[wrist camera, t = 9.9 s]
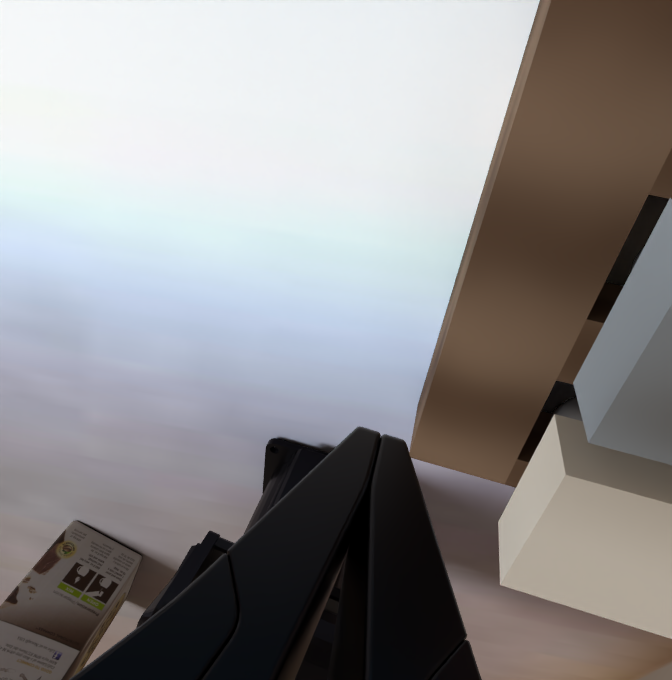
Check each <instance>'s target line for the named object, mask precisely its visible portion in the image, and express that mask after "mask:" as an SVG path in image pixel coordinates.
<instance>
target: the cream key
mask: <svg viewBox="0 0 672 680" xmlns="http://www.w3.org/2000/svg"><path fill="white" fill-rule="evenodd" d="M498 529H499V564H500V585H502V586H505V587H508V588H511V589H514V590H518V591H521V592H524V593H527V594H530V595H533V596H537V597H540V598H543V599H546V600H549V601H552V602H556V603H559V604H562V605H565V606H568V607H572V608H575V609H578V610H581V611H584V612H587V613H591V614H594V615H597V616H600V617H603V618H606V619H610V620H613V621H616V622H619V623H622V624H626V625H629V626H632V627H635V628H638V629H641V630H645V631H648V632H651V633H654V634H657V635H660V636H664V637H667V638H670V639H672V465H669V464H666V463H662V462H658V461H654V460H651V459H647V458H643V457H639V456H636V455H632V454H628V453H625V452H621V451H617V450H613V449H610V448H606V447H602V446H598V445H595V444H591V443H588V440H587V436H586V432H585V428H584V424H583V420H582V416H581V412H580V408H579V404H578V400H577V397H576V398H573V399H570V400H568V401H566V402H564V403H562V404H561V405H560V406H559V407H557V408H556V410H555V411H554V412H553V414H552V416H551V420H550V423H549V425H548V427H547V429H546V431H545V433H544V435H543V437H542V439H541V441H540V443H539V445H538V447H537V448H536V450H535V452H534V454H533V456H532V458H531V460H530V462H529V464H528V466H527V468H526V470H525V471H524V473H523V475H522V477H521V479H520V481H519V483H518V485H517V487H516V489H515V491H514V493H513V495H512V496H511V498H510V500H509V502H508V504H507V506H506V508H505V510H504V512H503V514H502V516H501V518H500V520H499V521H498Z"/></svg>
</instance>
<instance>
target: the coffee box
mask: <svg viewBox="0 0 672 680" xmlns="http://www.w3.org/2000/svg"><path fill="white" fill-rule="evenodd" d="M141 559H142V556H141V555H139V554H137V553H135V552H134V551H132V550H130V549H128V548H126V547H124V546H122V545H120V544H119V543H117V542H115V541H113V540H111V539H109V538H107V537H105V536H104V535H102V534H100V533H98V532H96V531H94V530H93V529H91V528H89V527H87V526H85V525H84V524H82V523H80V522H78V521H73V522H72V523H71V524H70V525H69V526H68V527H67V528H66V530H65V531H64V532H63V533H62V534H61V535H60V536H59V538H58V539H57V540H56V541H55V542H54V543H53V545H52V546H51V547H50V548H49V549H48V551H47V552H46V553H45V554H44V555H43V556H42V558H41V559H40V560H39V561H38V562H37V564H36V565H35V566H34V567H33V568H32V569H31V571H30V572H29V573H28V574H27V575H26V576H25V578H24V579H23V580H22V581H21V582H20V583H19V584H18V586H17V587H16V588H15V589H14V590H13V592H12V593H11V594H10V595H9V596H8V598H7V599H6V600H5V601H4V602H3V604H2V605H1V606H0V680H69V679H70V678H72V677H73V676H74V675H75V674H77V673H78V672H79V671H81V670H82V669H83V667H84V666H85V664H86V662H87V661H88V659H89V658H90V656H91V654H92V653H93V651H94V650H95V648H96V646H97V645H98V643H99V641H100V640H101V638H102V637H103V635H104V633H105V632H106V630H107V629H108V627H109V625H110V624H111V622H112V621H113V619H114V618H115V616H116V614H117V613H118V611H119V610H120V608H121V606H122V605H123V603H124V602H125V600H126V598H127V595H128V593H129V590H130V588H131V585H132V582H133V580H134V577H135V575H136V572H137V569H138V567H139V564H140V562H141Z"/></svg>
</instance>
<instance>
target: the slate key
mask: <svg viewBox="0 0 672 680" xmlns="http://www.w3.org/2000/svg"><path fill="white" fill-rule="evenodd" d="M573 384H574V388H575V392H576V396H577V400H578V404H579V408H580V412H581V416H582V420H583V424H584V428H585V432H586V436H587V440H588V443H591V444H595V445H598V446H602V447H606V448H610V449H613V450H617V451H621V452H625V453H628V454H632V455H636V456H639V457H643V458H647V459H651V460H654V461H658V462H662V463H666V464H669V465H672V198H670V199H669V201H668V203H667V205H666V207H665V208H664V210H663V212H662V214H661V216H660V218H659V220H658V222H657V224H656V226H655V227H654V229H653V231H652V233H651V235H650V237H649V239H648V241H647V243H646V245H645V246H644V247H643V248H642V249H641V251H640V252H639V253H638V255H637V256H636V258H635V260H634V262H633V264H632V268H631V273H630V275H629V277H628V279H627V281H626V283H625V285H624V287H623V289H622V290H621V292H620V294H619V296H618V298H617V300H616V302H615V304H614V306H613V308H612V310H611V311H610V313H609V315H608V317H607V319H606V321H605V323H604V325H603V327H602V329H601V331H600V332H599V334H598V336H597V338H596V340H595V342H594V344H593V346H592V348H591V350H590V351H589V353H588V355H587V357H586V359H585V361H584V363H583V365H582V367H581V369H580V371H579V372H578V374H577V376H576V378H575V380H574V382H573Z"/></svg>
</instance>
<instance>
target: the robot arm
mask: <svg viewBox="0 0 672 680" xmlns="http://www.w3.org/2000/svg"><path fill="white" fill-rule="evenodd" d="M380 437H381V438H380ZM275 447H276V448H275ZM466 638H467V633H466V630H465V627H464V624H463V621H462V618H461V614H460V611H459V608H458V605H457V602H456V599H455V596H454V592H453V589H452V586H451V583H450V580H449V577H448V573H447V570H446V567H445V564H444V561H443V558H442V555H441V551H440V548H439V545H438V542H437V539H436V536H435V532H434V529H433V526H432V523H431V520H430V517H429V514H428V510H427V507H426V504H425V501H424V498H423V495H422V492H421V488H420V485H419V482H418V479H417V476H416V473H415V469H414V466H413V463H412V460H411V457H410V454H409V451H408V447H407V445H406V442H405V441H404V440H402V439H399V438H396V437H393V436H389V435H386V434H384V435H382V436H381V435H380V433H379V432H377V431H374V430H371V429H367V428H364V427H357V428H356V429H355V430H354V431H353V432H352V433H350V434H349V435H348V436H347V437H346V438H345V439H344V440H343V441H342V442H341V443H340V444H339V445H338V446H337V447H336V448H335V449H334V450H333V451H332V452H330V453H329V454H328V453H325V452H321V451H318V450H314V449H311V448H307V447H304V446H301V445H297V444H294V443H290V442H287V441H283V440H280V439H276V438H273V439H271V440H269V442H268V444H267V446H266V453H265V467H264V481H263V495H262V497H261V499H260V501H259V503H258V506H257V508H256V510H255V512H254V514H253V516H252V518H251V520H250V522H249V524H248V526H247V528H246V530H245V533H244V535H243V536H242V537H241V538H240V539H239V540H238V541H237V542H236V543H233V542H230V541H228V540H226V539H223V538H221V537H220V535H219V534H217V533H215V532H212V531H209V532H208V534H207V535H206V537H205V538H204V540H203V541H202V543H201V544H199V543H198V544H197V545H195V546H191V548H190V550H189V552H188V553H187V555H186V557H185V559H184V560H183V562H182V564H181V566H180V567H179V569H178V571H177V572H176V574H175V575H174V577H173V578H172V579H171V581H170V582H169V583H168V584H167V586H166V587H165V588H164V589H163V590H162V592H161V593H160V594H159V595H158V596H157V598H156V599H155V600H154V601H153V602H152V603H151V605H150V606H149V607H148V608H147V609H146V611H145V612H144V613H143V615H142V616H141V618H140V620H139V622H138V624H137V629H135V630H134V631H133V632H131V633H130V634H129V635H127V636H126V637H125V638H123V639H122V640H121V641H119V642H118V643H117V644H115V645H114V646H113V647H111V648H110V649H109V650H107V651H106V652H105V653H103V654H102V655H101V656H99V657H98V658H97V659H95V660H94V661H93V662H91V663H90V664H89V665H87V666H86V667H85V668H83V669H82V670H81V671H79V672H78V673H77V674H75V675H74V676H73V677H72V678H70V679H69V680H482V679H481V676H480V673H479V670H478V667H477V664H476V661H475V658H474V655H473V651H472V648H471V645H470V642H469V641H468V640H465V639H466Z"/></svg>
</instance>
